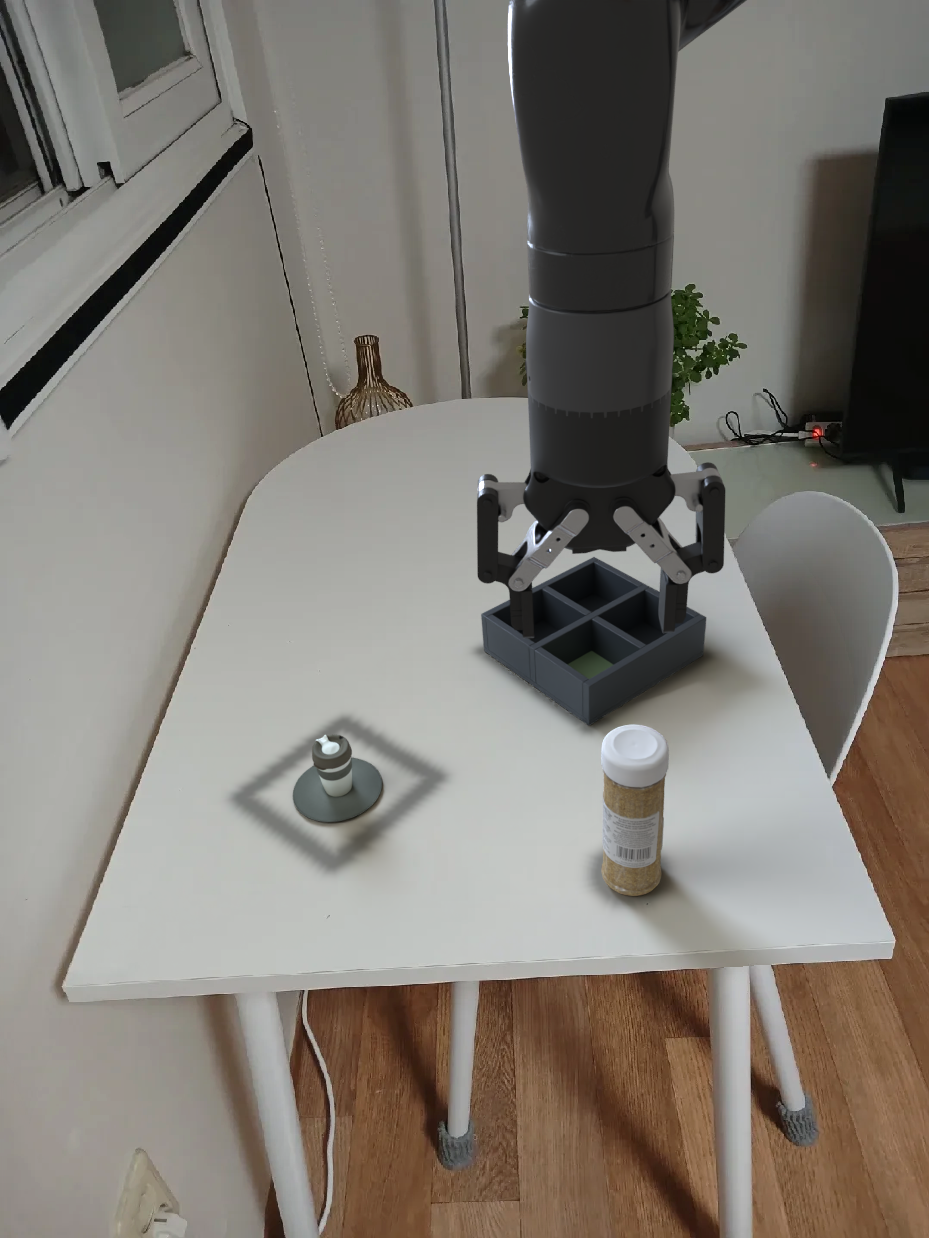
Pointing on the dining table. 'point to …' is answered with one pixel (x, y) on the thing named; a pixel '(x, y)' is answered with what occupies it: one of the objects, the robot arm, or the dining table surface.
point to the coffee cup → (336, 783)
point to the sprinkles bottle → (633, 808)
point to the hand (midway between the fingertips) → (597, 628)
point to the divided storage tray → (593, 640)
